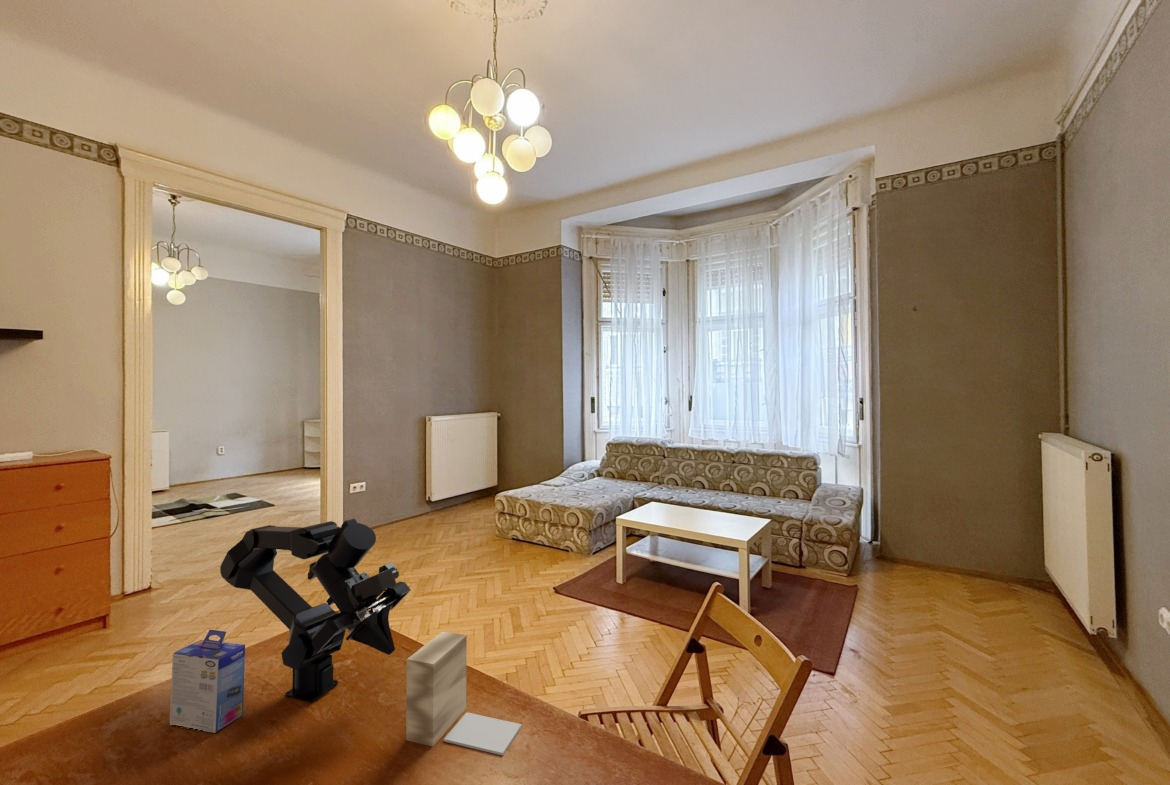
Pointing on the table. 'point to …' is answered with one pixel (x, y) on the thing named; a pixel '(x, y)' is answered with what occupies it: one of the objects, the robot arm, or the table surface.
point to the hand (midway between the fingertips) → (392, 652)
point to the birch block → (436, 687)
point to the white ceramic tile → (483, 733)
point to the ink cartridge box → (207, 684)
